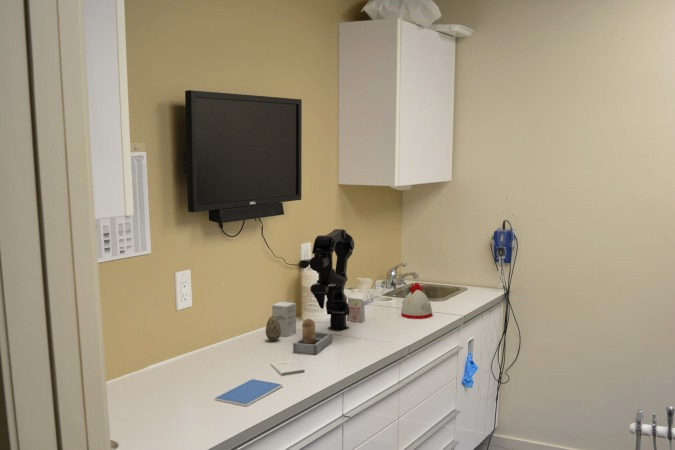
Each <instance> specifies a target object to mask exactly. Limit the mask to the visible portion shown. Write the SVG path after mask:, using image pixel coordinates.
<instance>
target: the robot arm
mask: <svg viewBox="0 0 675 450" xmlns="http://www.w3.org/2000/svg"><path fill="white" fill-rule="evenodd" d="M354 249H355V240H354V239H353V236H352V235H350V234H349V233H348V232H347V231H346V230H345V229H343V228H342V229H341V228H337V229H336V228H335V229H333V230H332V231H331V232H329V233H327V234H326V235H325V234H324V235H322V234H321V235H317V236H316V238H315V239H314V242H313V246H312V252H311V253H312V254H313V255H314V256H313V257H312V258H311V259H310V260H309V267H310V268H311V270H312V271H314V272H316V273H317V275H318V278H317V280H316V282H315V283H313V284H311V286H309V287H310V288H309V289H310V292H311V293H312V295H313V296H314V298H315V299H316V301H317V304H318V306H319V308H320V309H322V310H323V309H324V308H326V309H325V311H326V315H330V321H329V322H330V323H329V324H330V326H328V327H327V329H329V330H333V329H334V331H338V330H340V331H343V330H345V329H349V328H350V326H347V315H349V312H350V308H349V306H348V299H347V295H345V287H346V283H347V281H348V276H347V269H348V268H347V267H348V262H349V261H348V260H349V259H350V257H351V256H352V255H353V250H354ZM334 253H335V255H336V263H335V268H333V267H334V266H333V264H334V263H333V255H334ZM325 300H326V301H325Z"/></svg>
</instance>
